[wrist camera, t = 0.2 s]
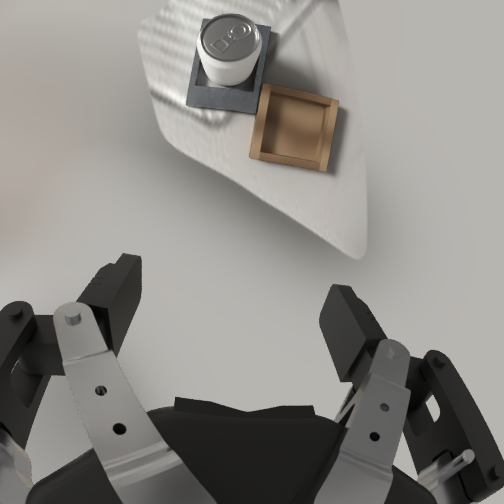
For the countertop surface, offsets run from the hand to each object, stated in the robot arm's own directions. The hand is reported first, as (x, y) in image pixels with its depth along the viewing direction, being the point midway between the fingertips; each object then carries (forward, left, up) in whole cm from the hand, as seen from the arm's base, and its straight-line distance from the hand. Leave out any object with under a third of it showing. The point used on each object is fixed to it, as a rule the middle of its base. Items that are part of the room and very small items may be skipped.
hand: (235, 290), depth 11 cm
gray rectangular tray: (-16, -2, -29) cm, 33 cm away
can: (-16, -2, -29) cm, 33 cm away
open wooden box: (-8, +7, -29) cm, 31 cm away
